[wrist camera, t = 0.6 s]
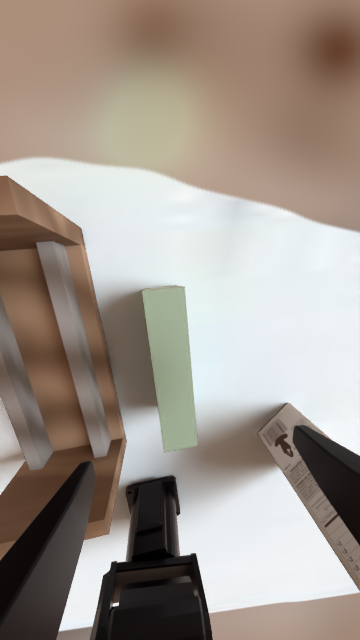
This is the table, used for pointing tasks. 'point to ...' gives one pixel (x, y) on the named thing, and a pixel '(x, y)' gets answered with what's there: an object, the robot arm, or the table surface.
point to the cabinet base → (53, 365)
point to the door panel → (171, 364)
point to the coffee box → (310, 486)
